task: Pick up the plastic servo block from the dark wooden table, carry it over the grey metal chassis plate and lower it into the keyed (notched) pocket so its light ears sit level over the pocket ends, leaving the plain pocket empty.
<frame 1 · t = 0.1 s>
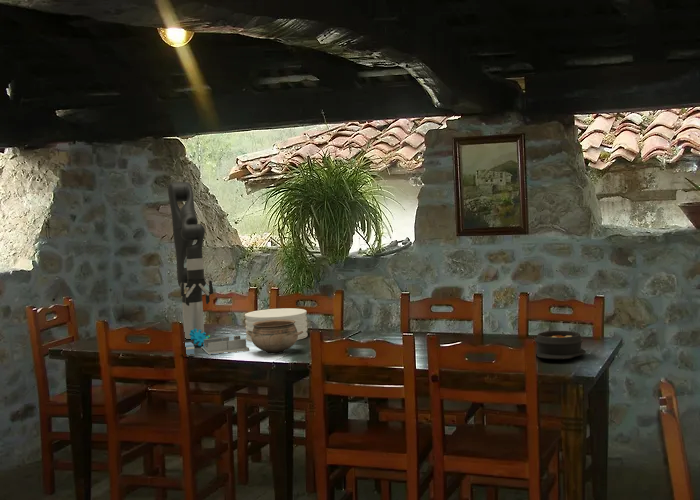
hand: (197, 304, 346), 17 cm above the table, tool pointing down, fingers open, 8 cm apart
cooking pot: (275, 352, 315), on the table
plate stack: (277, 337, 352), on the table
gear: (201, 346, 339), on the table
chassis plate: (225, 350, 325), on the table
servo block: (188, 355, 317), on the table
casserole: (559, 357, 280), on the table
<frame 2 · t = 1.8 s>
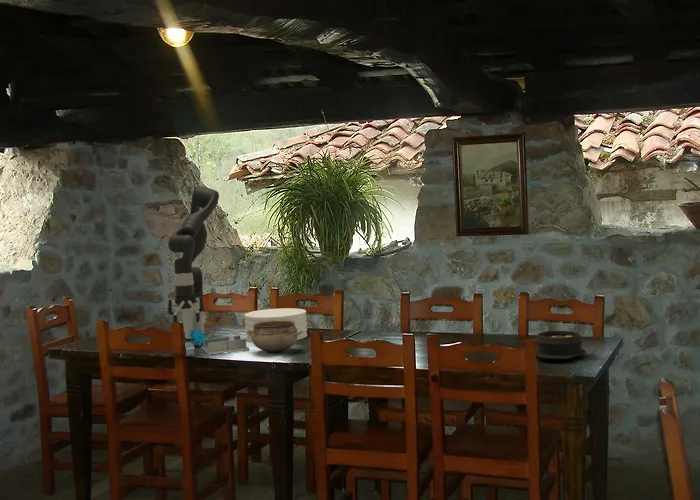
hand: (186, 323, 316), 13 cm above the table, tool pointing down, fingers open, 8 cm apart
nothing on the table moved.
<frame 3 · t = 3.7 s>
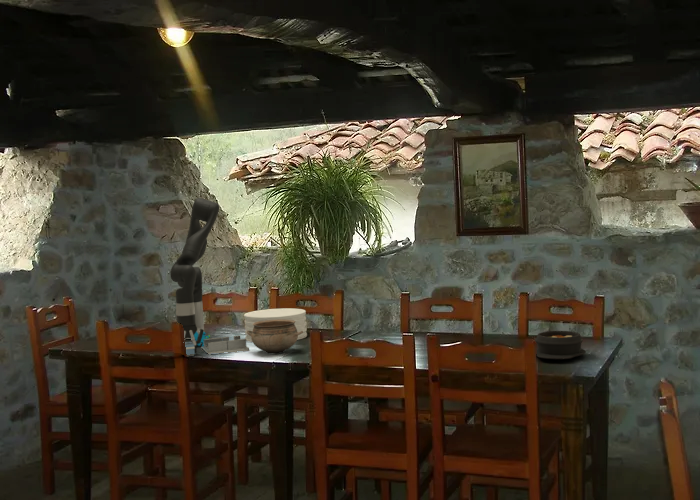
hand: (188, 354, 317), 0 cm above the table, tool pointing down, fingers closed on servo block, 4 cm apart
servo block: (188, 355, 317), on the table, touching gripper
everything else where it was.
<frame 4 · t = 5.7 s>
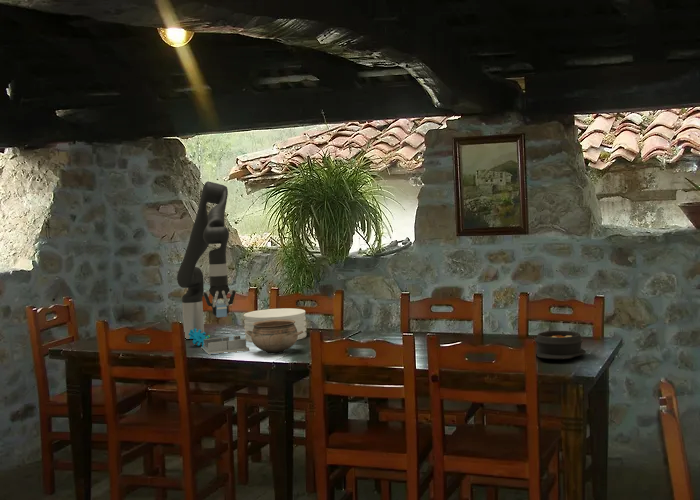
hand: (220, 315, 324), 15 cm above the table, tool pointing down, fingers closed on servo block, 4 cm apart
servo block: (220, 315, 323), point 15 cm above the table, touching gripper
everything else where it was.
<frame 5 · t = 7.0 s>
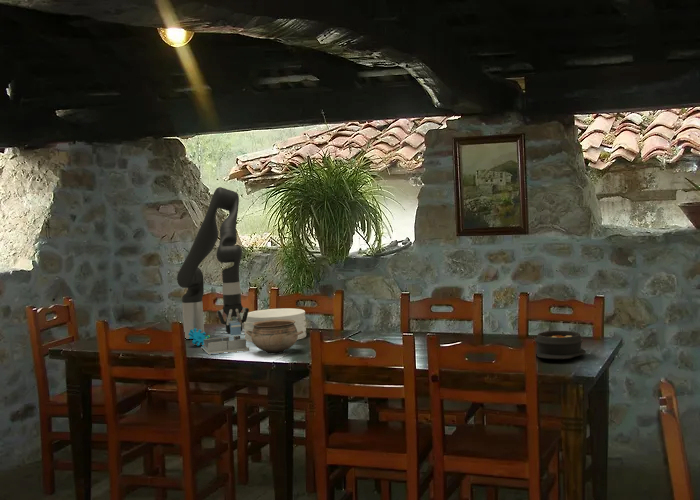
hand: (234, 332, 327), 7 cm above the table, tool pointing down, fingers closed on servo block, 4 cm apart
servo block: (234, 333, 327), point 7 cm above the table, touching gripper
everything else where it was.
when the fingers open (3 cm above the table, at t = 8.2 s): servo block drops 1 cm, resting on chassis plate.
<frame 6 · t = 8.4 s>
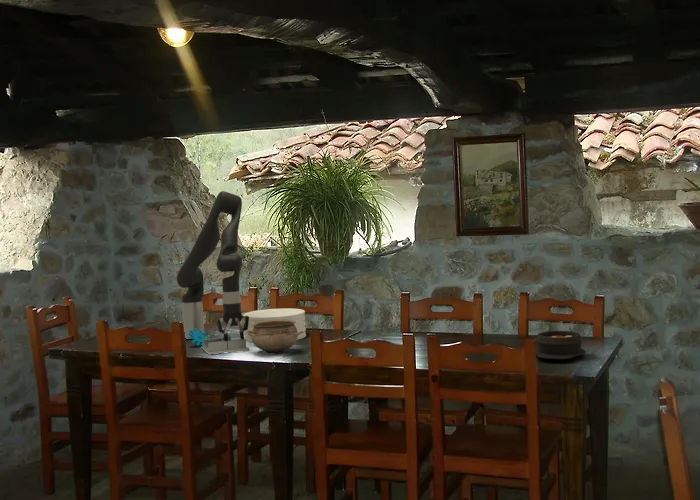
hand: (233, 341, 327), 3 cm above the table, tool pointing down, fingers open, 5 cm apart
servo block: (234, 346, 327), point 1 cm above the table, touching chassis plate
everything else where it was.
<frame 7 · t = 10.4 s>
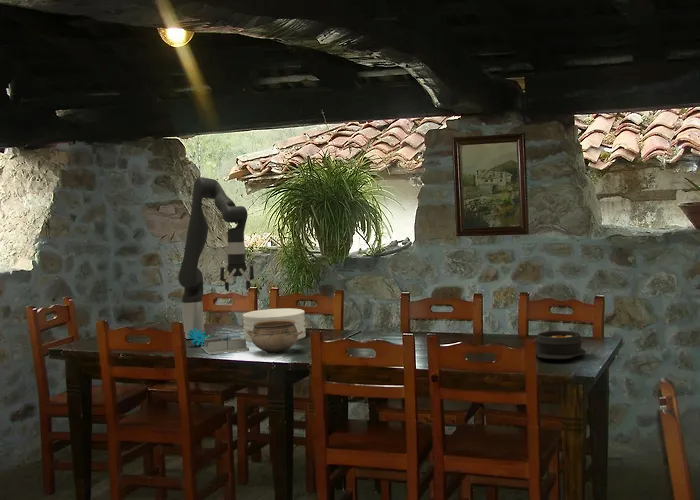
hand: (237, 290, 332), 24 cm above the table, tool pointing down, fingers open, 8 cm apart
nothing on the table moved.
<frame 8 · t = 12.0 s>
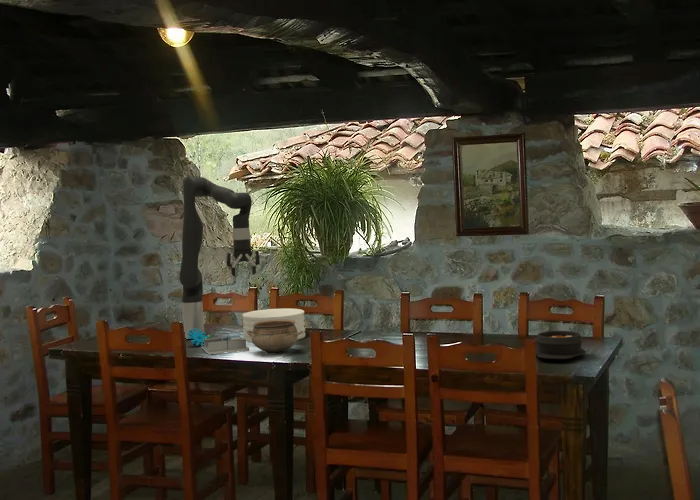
hand: (243, 275, 336), 30 cm above the table, tool pointing down, fingers open, 8 cm apart
at the end: servo block 0.0 cm from the target spot on the chassis plate, point 1.2 cm above the chassis plate's base; servo block tilted 0°; the gripper is holding nothing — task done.
